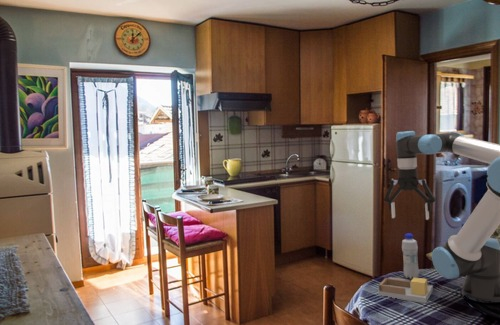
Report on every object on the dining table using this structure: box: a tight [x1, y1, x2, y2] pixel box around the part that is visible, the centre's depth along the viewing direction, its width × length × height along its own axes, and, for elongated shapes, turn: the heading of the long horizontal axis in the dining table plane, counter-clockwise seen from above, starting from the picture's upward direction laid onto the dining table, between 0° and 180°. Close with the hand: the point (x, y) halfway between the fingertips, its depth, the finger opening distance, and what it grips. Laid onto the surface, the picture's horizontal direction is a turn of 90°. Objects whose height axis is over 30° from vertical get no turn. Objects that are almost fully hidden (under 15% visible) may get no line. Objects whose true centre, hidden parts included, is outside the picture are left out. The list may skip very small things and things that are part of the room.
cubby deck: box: [377, 277, 434, 304], centre depth 161 cm, size 18×14×4 cm
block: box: [410, 277, 428, 296], centre depth 155 cm, size 5×5×5 cm
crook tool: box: [388, 276, 410, 281], centre depth 167 cm, size 8×4×2 cm, turn 55°
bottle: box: [401, 232, 420, 280], centre depth 177 cm, size 7×7×20 cm
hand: (410, 218), depth 167 cm, fingers open, 13 cm apart
